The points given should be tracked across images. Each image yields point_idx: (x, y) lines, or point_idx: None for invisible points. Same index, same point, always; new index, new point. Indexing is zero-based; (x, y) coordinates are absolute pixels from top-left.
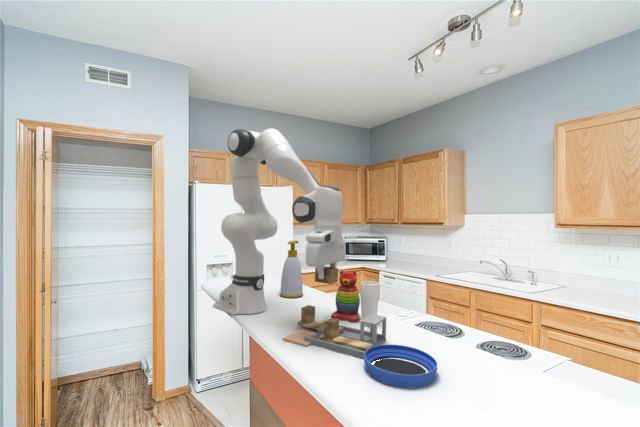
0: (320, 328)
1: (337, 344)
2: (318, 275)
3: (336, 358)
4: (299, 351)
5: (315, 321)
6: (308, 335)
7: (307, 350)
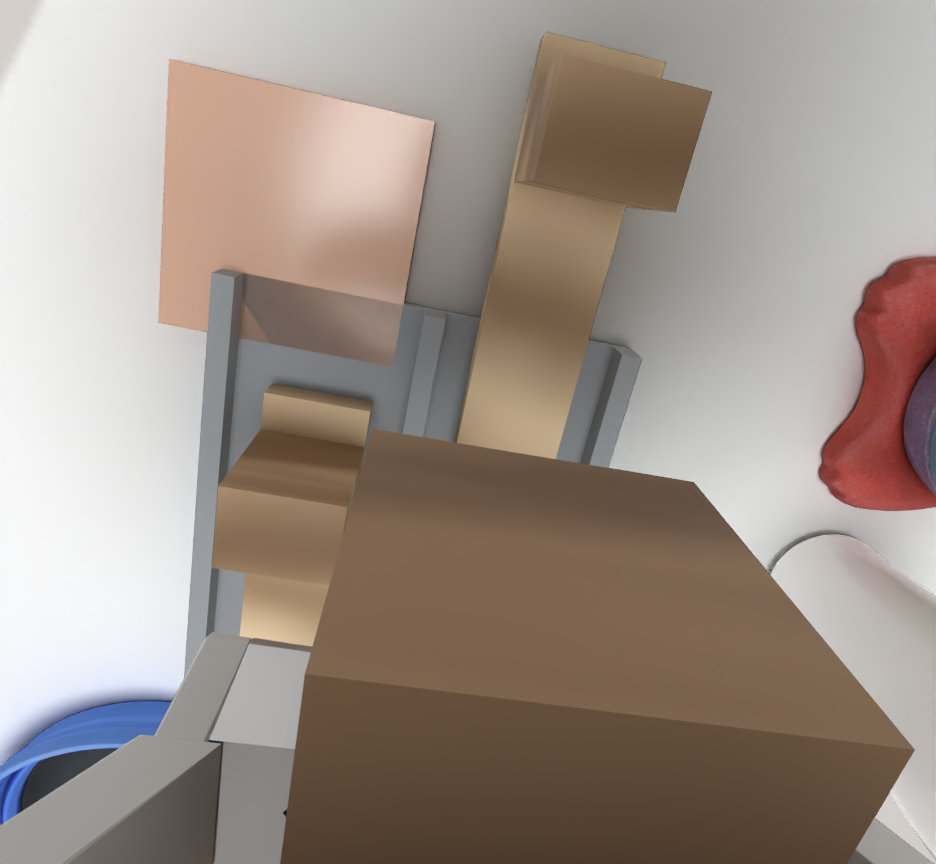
0: (481, 318)
1: (211, 545)
2: (186, 678)
3: (116, 550)
4: (63, 300)
5: (611, 220)
6: (344, 255)
7: (114, 346)
